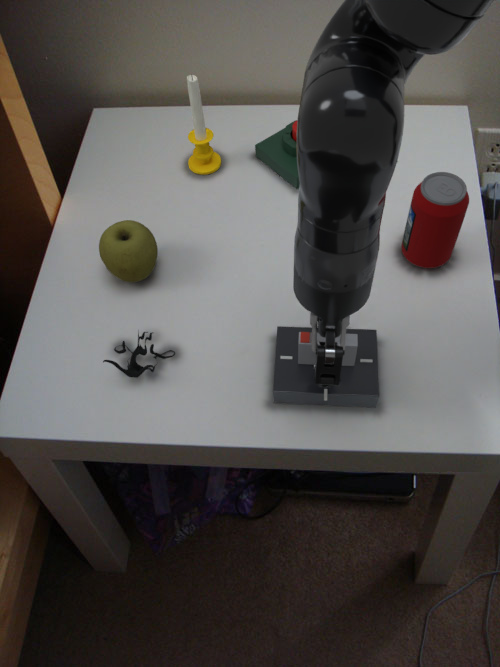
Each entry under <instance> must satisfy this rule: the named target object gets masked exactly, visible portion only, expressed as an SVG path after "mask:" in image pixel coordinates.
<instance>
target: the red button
mask: <svg viewBox="0 0 500 667" xmlns="http://www.w3.org/2000/svg"><path fill="white" fill-rule="evenodd" d="M296 120H297V121H298V119H296ZM296 120H294V121H295V122H294V121H293V122H294V124H293V126H292V137H293V139H294V141H296V142H297V121H296Z"/></svg>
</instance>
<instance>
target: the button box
mask: <svg viewBox="0 0 500 667" xmlns="http://www.w3.org/2000/svg"><path fill="white" fill-rule="evenodd" d="M297 120H298V119H296V120H293V121H292V122H289V123H288V124H286V125H285V127H283V128H282V129H280V130H278V131H277V132H275V133H273V134H272V135H270V136H268V137H266V138H265V139H263V140H261V141H259V142H258V143H256V144H254V149H255V151H254V152H255V157H256V158H257V159H259V160H260V161H261V162H262V163H263V164H265V165H266V166H267V167H269V168H270V169H271V170H273V171H274V172H275V173H276V174H277V175H278V176H280V177H281V178H283V180H284V181H286V182H288V183H289V185H291V186H292V187H293V188H295V189H296V190H299V186H300V182H299V174H298V166H297V146H296V145H297V142H296V141H294V139H293V137H292V126H293V124H294V122H295V121H297Z"/></svg>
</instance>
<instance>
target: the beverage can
mask: <svg viewBox="0 0 500 667" xmlns="http://www.w3.org/2000/svg"><path fill="white" fill-rule="evenodd" d="M469 205H470V195H469V193H468V188H467V184H466V182H465V181H464V180H463V179H462V178H461V177H460V176H458V175H456V174H454V173H451V172H447V171H436V172H432V173H429V174H428V175H426V176H425V177H424V178H423V179H422V181H421V182H419V183H418V184H417V185H416V186H415V188H414V190H413V192H412V197H411V200H410V206H409V210H408V214H407V219H406V223H405V227H404V230H403V231H404V232H403V236H402V241H401V245H400V246H401V253H402V255H403V257H404V258H405V259H406V260H407V262H409V263H411V264H412V265H414V266H416V267H419V268H423V269H435V268H439V267H442V266H443V265H445V264H447V262H449V260H450V259H451V257H452V255H453V252H454V249H455V246H456V243H457V240H458V238H459V235H460V232H461V229H462V226H463V223H464V220H465V217H466V214H467V211H468V208H469Z"/></svg>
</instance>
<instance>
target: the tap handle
mask: <svg viewBox="0 0 500 667" xmlns="http://www.w3.org/2000/svg"><path fill="white" fill-rule="evenodd" d="M311 340H312V332H299V343H298V364H311V365H314V364H315V357H316V354H315V353H314V352H313V351H312V349H311ZM317 340H318V341H320V342H325V338H324V337H321V336H320V334H319V333H317ZM339 340H340V336H339V337H337V338H335V342H338V341H339ZM357 348H358V335H357V334H346V342H345V354H344V355H343V360H342V366H354V365H355V359H356V353H357Z"/></svg>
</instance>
